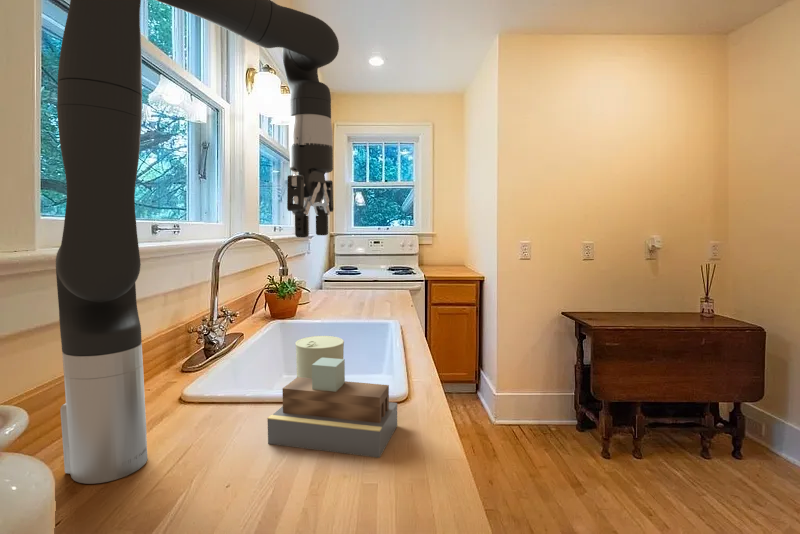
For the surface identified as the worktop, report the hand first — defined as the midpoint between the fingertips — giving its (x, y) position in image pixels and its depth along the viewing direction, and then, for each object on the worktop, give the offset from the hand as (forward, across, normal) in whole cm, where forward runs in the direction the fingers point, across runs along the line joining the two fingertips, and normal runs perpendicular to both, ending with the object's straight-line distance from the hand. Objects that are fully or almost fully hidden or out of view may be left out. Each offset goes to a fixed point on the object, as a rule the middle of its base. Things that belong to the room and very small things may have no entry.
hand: (312, 236), depth 85 cm
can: (+32, -3, 0) cm, 32 cm away
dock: (+32, +10, +8) cm, 34 cm away
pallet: (+28, +10, +8) cm, 31 cm away
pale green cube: (+24, +10, +7) cm, 27 cm away
